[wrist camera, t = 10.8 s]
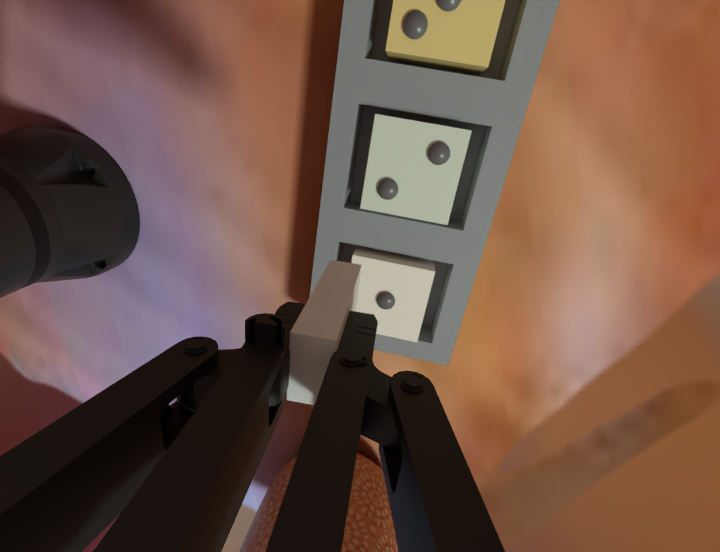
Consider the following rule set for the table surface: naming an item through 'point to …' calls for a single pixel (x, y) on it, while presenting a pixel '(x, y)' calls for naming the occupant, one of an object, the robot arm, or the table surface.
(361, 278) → the tile one
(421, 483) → the robot arm
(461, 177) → the tile board
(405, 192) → the tile two
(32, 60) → the table surface
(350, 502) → the planter
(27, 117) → the table surface
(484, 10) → the tile three
